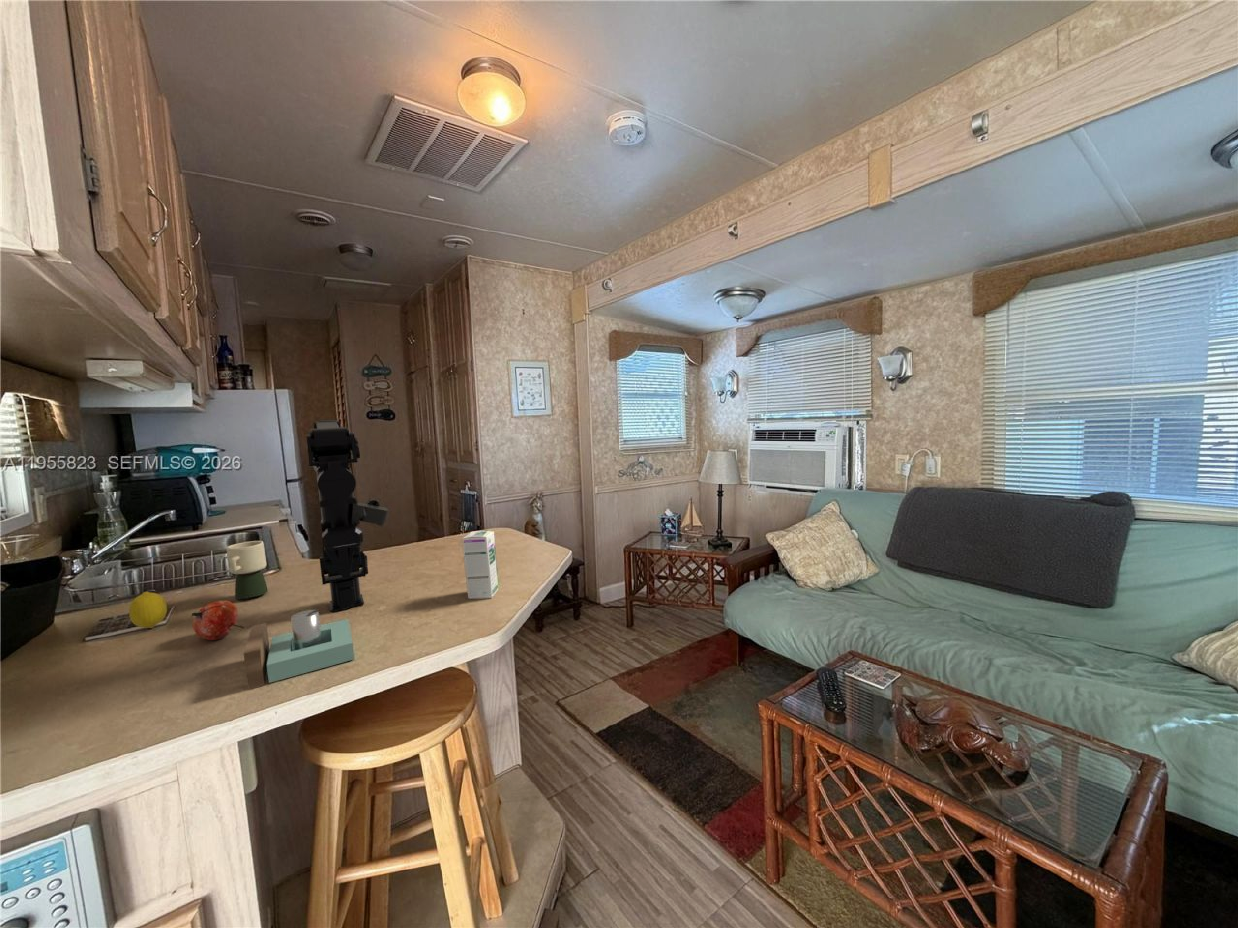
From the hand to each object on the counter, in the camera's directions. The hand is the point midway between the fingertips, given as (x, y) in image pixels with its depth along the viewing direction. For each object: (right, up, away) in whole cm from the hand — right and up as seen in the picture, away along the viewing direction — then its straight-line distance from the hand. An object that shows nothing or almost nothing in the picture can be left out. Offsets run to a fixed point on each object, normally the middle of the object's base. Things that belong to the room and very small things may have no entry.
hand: (345, 571), depth 92 cm
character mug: (-35, -11, +22) cm, 43 cm away
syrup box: (+22, -9, +17) cm, 30 cm away
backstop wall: (-7, -14, -13) cm, 20 cm away
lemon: (-44, -14, +6) cm, 47 cm away
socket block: (-1, -13, -9) cm, 16 cm away
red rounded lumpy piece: (-26, -13, +1) cm, 29 cm away
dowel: (-1, -13, -9) cm, 16 cm away
